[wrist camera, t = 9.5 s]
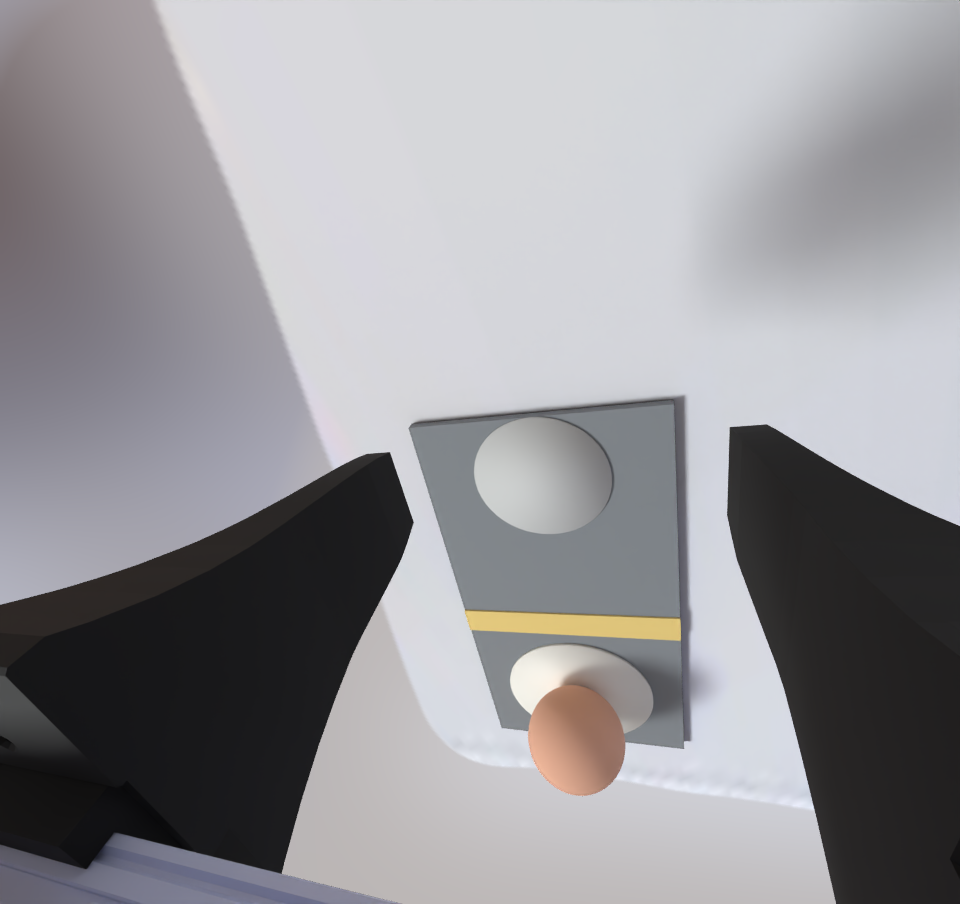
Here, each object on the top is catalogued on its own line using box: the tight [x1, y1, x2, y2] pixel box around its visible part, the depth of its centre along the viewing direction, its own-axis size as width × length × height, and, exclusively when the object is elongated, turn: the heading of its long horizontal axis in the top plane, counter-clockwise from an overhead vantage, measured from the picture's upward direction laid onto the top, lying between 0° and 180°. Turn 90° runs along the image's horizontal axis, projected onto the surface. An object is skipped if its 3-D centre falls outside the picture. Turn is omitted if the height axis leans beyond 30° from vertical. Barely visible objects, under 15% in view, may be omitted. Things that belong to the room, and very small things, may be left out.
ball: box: [528, 685, 625, 796], centre depth 26 cm, size 5×5×5 cm
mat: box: [409, 400, 684, 749], centre depth 25 cm, size 22×11×1 cm, turn 12°
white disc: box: [510, 643, 653, 733], centre depth 28 cm, size 8×8×1 cm
